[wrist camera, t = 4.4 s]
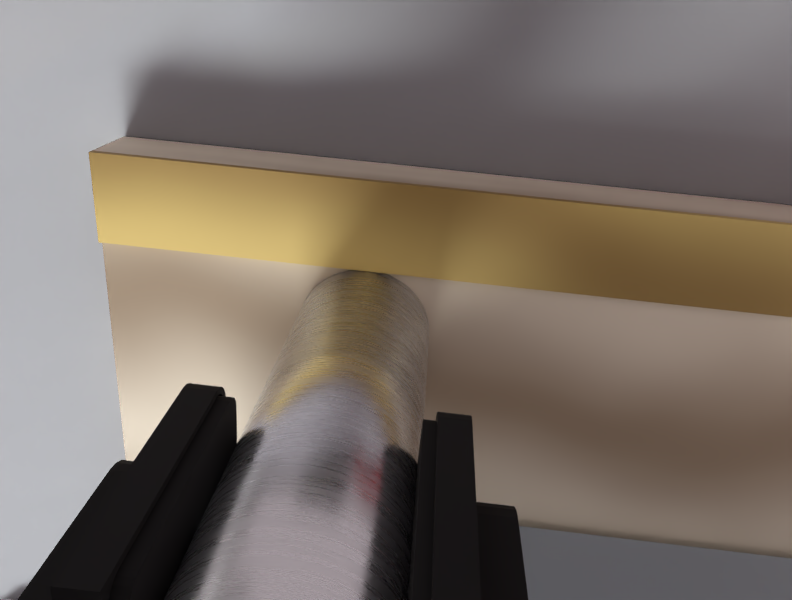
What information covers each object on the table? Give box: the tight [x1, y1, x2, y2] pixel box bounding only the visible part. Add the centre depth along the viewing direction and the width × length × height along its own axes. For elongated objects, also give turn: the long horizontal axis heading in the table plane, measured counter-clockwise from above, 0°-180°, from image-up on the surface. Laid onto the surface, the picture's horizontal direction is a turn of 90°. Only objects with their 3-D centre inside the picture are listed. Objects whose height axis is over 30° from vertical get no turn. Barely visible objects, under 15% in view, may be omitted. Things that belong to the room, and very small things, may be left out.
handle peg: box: [164, 270, 429, 600], centre depth 11 cm, size 3×3×10 cm
